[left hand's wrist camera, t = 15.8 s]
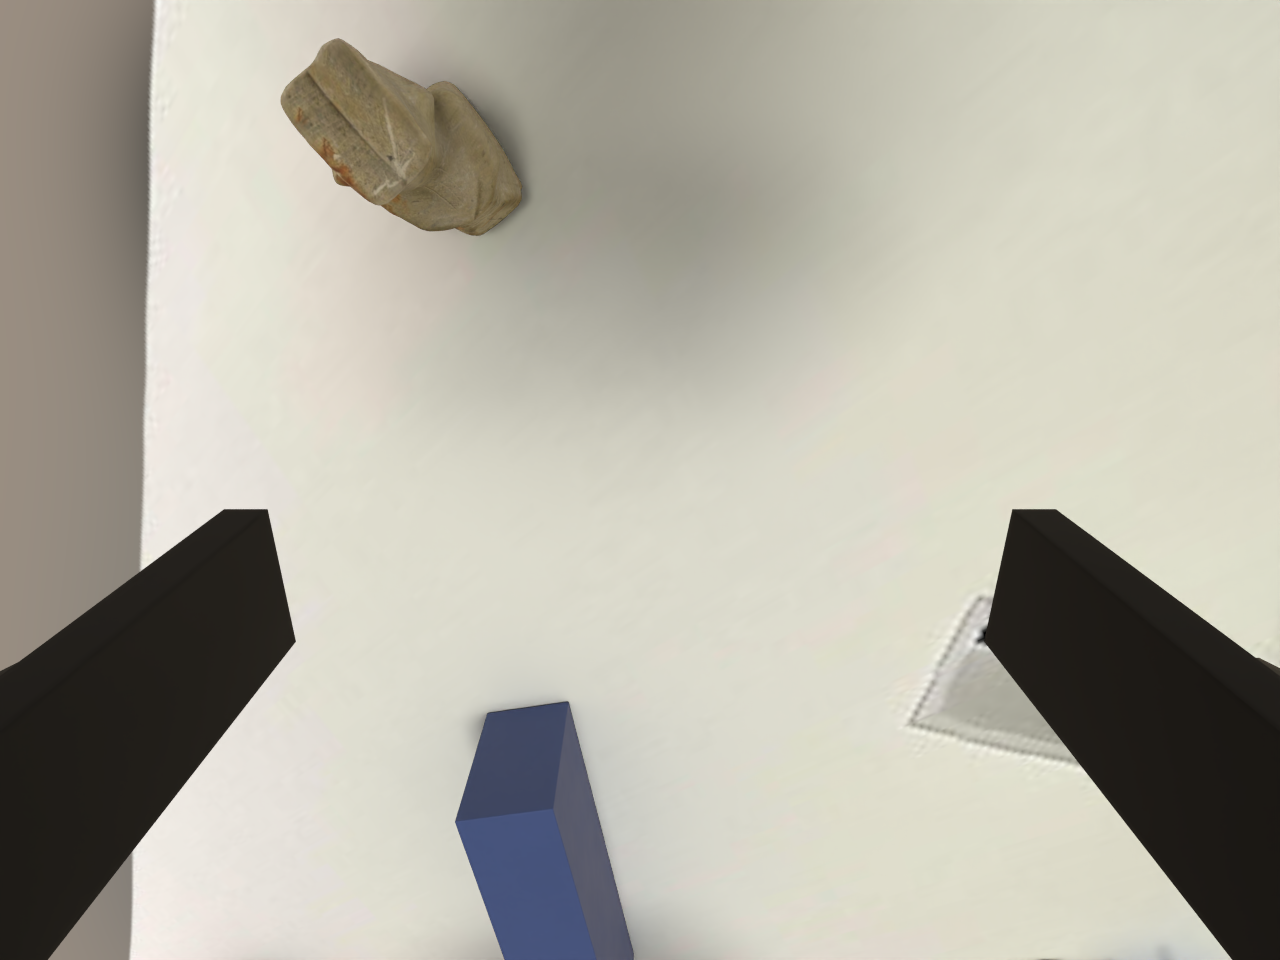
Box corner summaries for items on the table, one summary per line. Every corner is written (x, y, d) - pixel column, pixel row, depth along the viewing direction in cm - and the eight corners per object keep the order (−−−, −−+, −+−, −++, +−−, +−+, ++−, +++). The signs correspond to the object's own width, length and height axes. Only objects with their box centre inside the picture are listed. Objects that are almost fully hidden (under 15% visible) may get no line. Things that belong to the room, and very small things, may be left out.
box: (487, 712, 53) (454, 822, 43) (568, 701, 52) (552, 809, 43) (565, 961, 63) (552, 1092, 54) (633, 953, 62) (632, 1084, 53)
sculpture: (465, 66, 37) (360, -15, 23) (549, 189, 39) (499, 183, 25) (382, 137, 38) (234, 100, 24) (468, 251, 40) (377, 279, 26)
